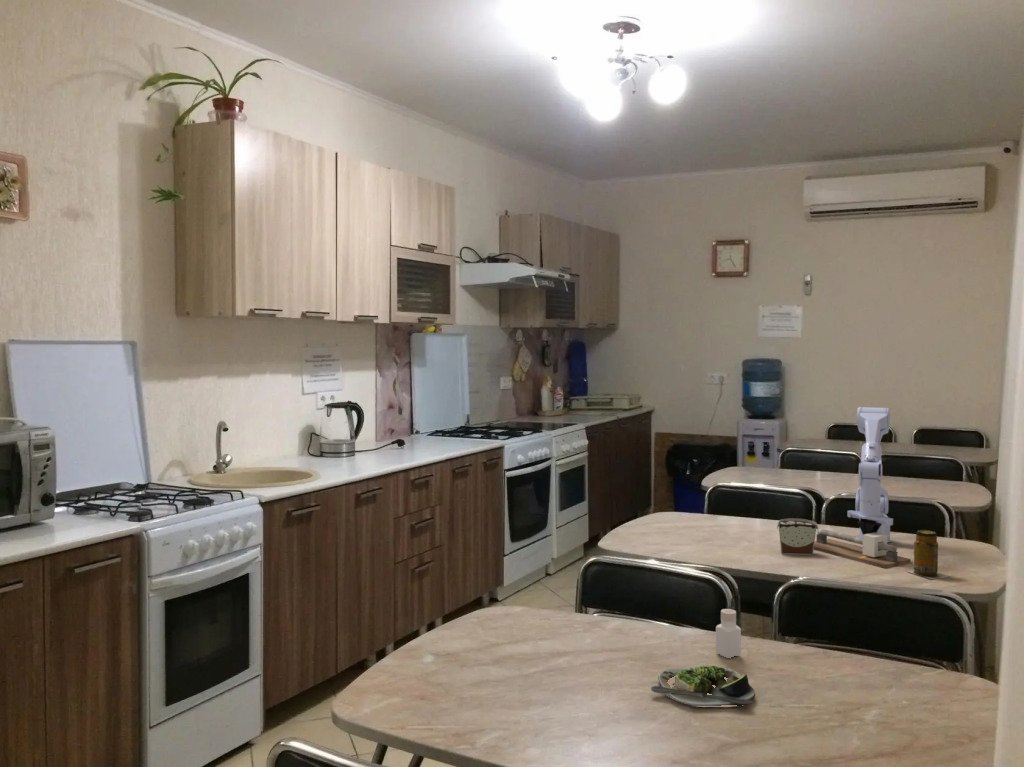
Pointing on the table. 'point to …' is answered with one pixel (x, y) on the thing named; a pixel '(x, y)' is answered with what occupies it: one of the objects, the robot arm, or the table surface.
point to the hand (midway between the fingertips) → (869, 544)
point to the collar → (874, 544)
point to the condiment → (926, 555)
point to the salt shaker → (728, 635)
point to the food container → (797, 536)
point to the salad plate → (706, 686)
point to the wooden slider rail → (856, 549)
